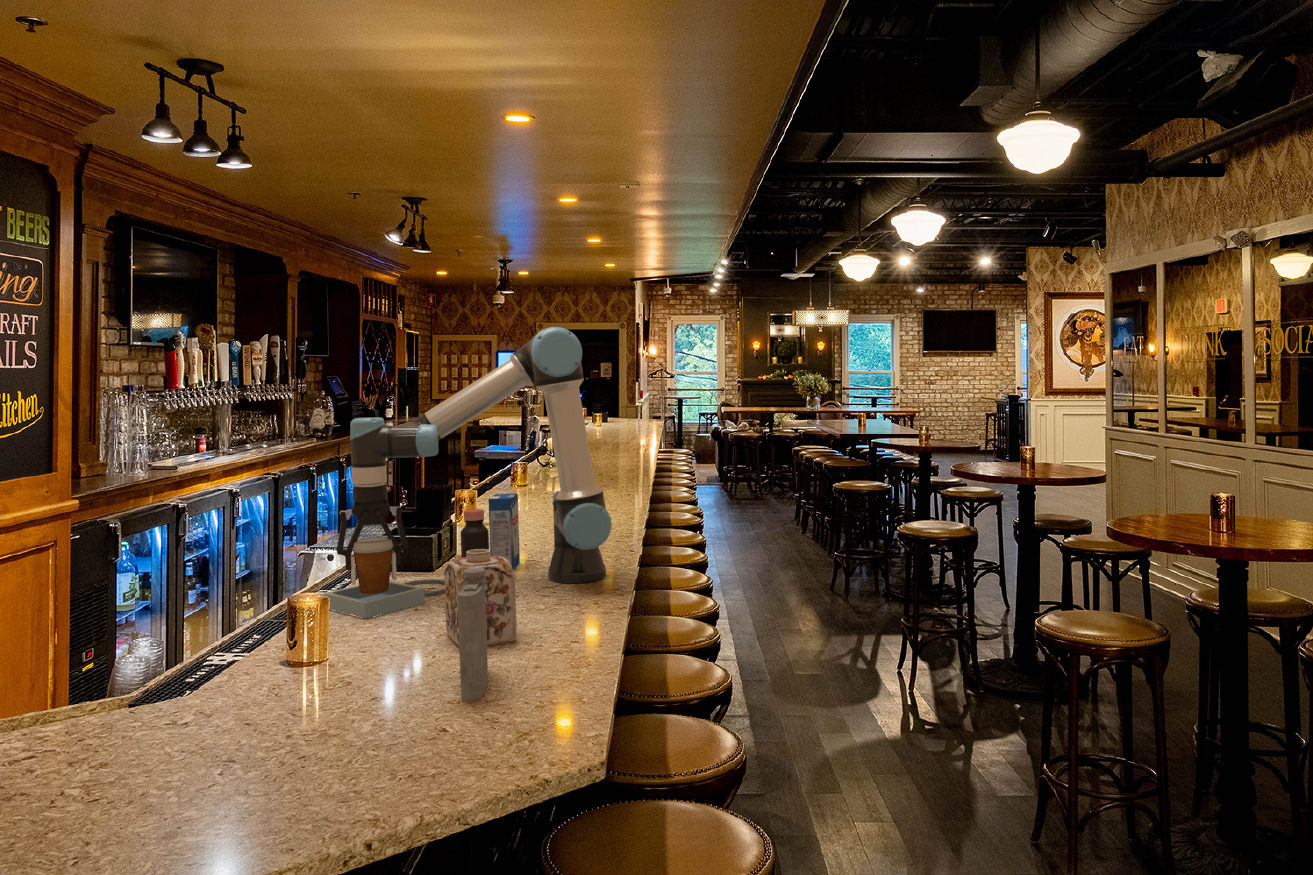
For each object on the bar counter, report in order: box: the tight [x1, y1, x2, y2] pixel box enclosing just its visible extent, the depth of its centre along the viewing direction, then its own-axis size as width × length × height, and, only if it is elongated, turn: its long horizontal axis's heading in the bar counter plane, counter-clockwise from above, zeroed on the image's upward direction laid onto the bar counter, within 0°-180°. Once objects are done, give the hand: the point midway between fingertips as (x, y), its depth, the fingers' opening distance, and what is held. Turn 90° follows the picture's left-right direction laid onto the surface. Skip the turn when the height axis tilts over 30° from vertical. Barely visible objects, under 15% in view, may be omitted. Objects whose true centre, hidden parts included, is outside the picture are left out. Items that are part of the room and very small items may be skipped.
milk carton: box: [488, 492, 521, 572], centre depth 234 cm, size 10×6×20 cm, turn 179°
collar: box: [402, 578, 445, 597], centre depth 211 cm, size 15×15×1 cm
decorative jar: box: [443, 549, 517, 648], centre depth 170 cm, size 12×12×18 cm
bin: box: [323, 580, 426, 620], centre depth 197 cm, size 16×16×4 cm
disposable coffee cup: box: [352, 536, 394, 594], centre depth 196 cm, size 10×10×12 cm
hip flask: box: [457, 568, 489, 703], centre depth 144 cm, size 16×4×20 cm, turn 8°
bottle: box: [460, 508, 490, 558], centre depth 209 cm, size 7×7×20 cm
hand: (374, 581), depth 196 cm, fingers closed on disposable coffee cup, 8 cm apart
